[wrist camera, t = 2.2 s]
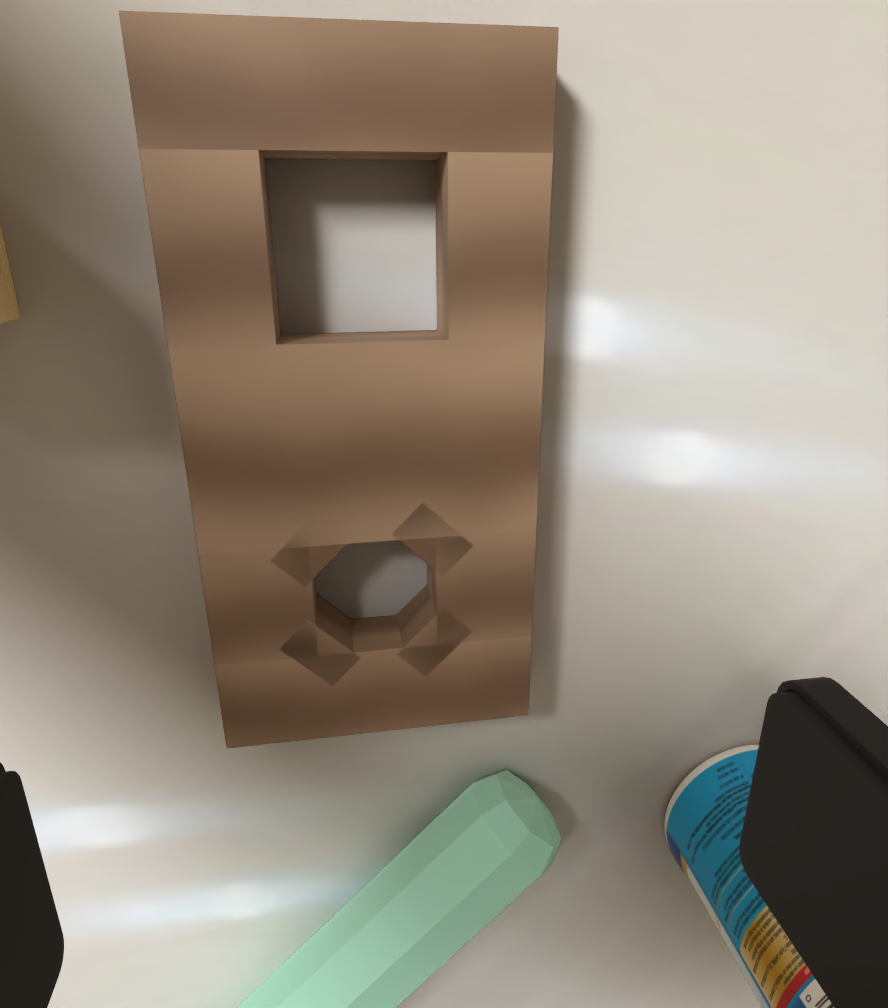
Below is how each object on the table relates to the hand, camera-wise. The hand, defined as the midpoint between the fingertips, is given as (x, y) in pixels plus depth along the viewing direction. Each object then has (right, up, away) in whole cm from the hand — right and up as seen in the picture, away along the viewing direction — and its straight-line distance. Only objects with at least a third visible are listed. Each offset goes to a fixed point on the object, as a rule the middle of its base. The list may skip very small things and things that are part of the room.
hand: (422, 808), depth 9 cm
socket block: (-3, +7, +17) cm, 19 cm away
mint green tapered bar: (-5, -17, +27) cm, 32 cm away
